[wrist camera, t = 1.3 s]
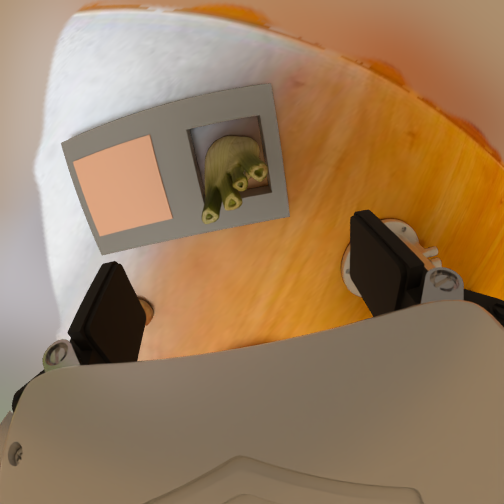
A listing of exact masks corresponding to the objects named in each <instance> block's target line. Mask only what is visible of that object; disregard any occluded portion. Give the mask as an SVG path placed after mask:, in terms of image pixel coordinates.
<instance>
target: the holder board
mask: <svg viewBox="0 0 504 504" xmlns="http://www.w3.org/2000/svg"><path fill="white" fill-rule="evenodd" d="M252 116H257V117H258V123H259V129H260V135H261V141H262V147H263V153H264V159H265V163H266V165H268V174H267V179H268V186H262V187H257V188H251V189H246V190H245V191H239V194H240V195H241V198H242V202H243V203H242V205H241V206H240V207H239V208H237V209H234V210H230V211H227V210H225V208H224V205H223V202H222V205H221V210H220V216H219V219H218V220H217V221H216V222H213V223H210V224H204V223H203V221H202V211H203V207H204V204H205V199H206V197H205V193H204V189H203V185H202V181H201V176H200V172H199V168H198V164H197V159H196V155H195V151H194V146H193V142H192V137H191V133H190V129H192V128H196V127H200V126H205V125H210V124H214V123H219V122H224V121H229V120H235V119H240V118H246V117H252ZM61 145H62V148H63V152H64V155H65V159H66V162H67V165H68V168H69V172H70V175H71V178H72V181H73V184H74V187H75V189H76V192H77V195H78V198H79V201H80V203H81V206H82V209H83V211H84V214H85V216H86V219H87V221H88V224H89V226H90V229H91V231H92V234H93V236H94V238H95V241H96V243H97V245H98V248H99V250H100V252H101V254H102V255H106V254H110V253H115V252H119V251H123V250H128V249H132V248H137V247H141V246H146V245H150V244H155V243H159V242H164V241H169V240H173V239H178V238H183V237H188V236H192V235H197V234H202V233H207V232H212V231H217V230H222V229H227V228H232V227H237V226H242V225H247V224H253V223H258V222H263V221H269V220H274V219H279V218H285V217H290V214H289V205H288V197H287V189H286V181H285V173H284V166H283V158H282V151H281V144H280V137H279V130H278V124H277V117H276V111H275V105H274V98H273V92H272V86H271V83H269V84H261V85H254V86H247V87H241V88H235V89H229V90H224V91H218V92H213V93H209V94H204V95H200V96H195V97H191V98H187V99H183V100H179V101H175V102H171V103H168V104H164V105H161V106H157V107H154V108H150V109H147V110H144V111H141V112H138V113H135V114H132V115H129V116H126V117H123V118H120V119H117V120H115V121H112V122H109V123H107V124H104V125H102V126H99V127H97V128H94V129H92V130H89V131H87V132H84V133H82V134H80V135H78V136H75V137H73V138H71V139H69V140H66V141H64V142H62V143H61Z"/></svg>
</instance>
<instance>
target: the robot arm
mask: <svg viewBox="0 0 504 504" xmlns="http://www.w3.org/2000/svg"><path fill="white" fill-rule="evenodd" d="M437 254H438V249H437V247H436V246H433V247H429V248H427V249H424V248H423V247H422V246H421V245H420V244H419V240H418V237H417V235H416V233H415V231H414V230H413V229H412V228H411V227H410V226H409V225H408V224H406V223H405V222H403V221H401V220H397V219H385V220H380V219H379V218H378V217H376V216H375V215H374V214H373V213H372V212H371V211H370V210H363V211H358V212H355V213H354V216H351V219H350V244H349V246H348V247H347V249H346V252H345V254H344V256H343V260H342V265H341V273H342V278H343V281H344V283H345V285H346V286H347V288H348V289H349V290H350V291H351V292H352V293H353V294H355V295H357V296H359V297H362V298H363V300H364V301H365V303H366V305H367V306H368V308H369V310H370V311H371V313H372V315H373V317H372V318H369V319H365V320H362V321H358V322H354V323H351V324H347V325H343V326H339V327H336V328H332V329H328V330H324V331H319V332H315V333H311V334H307V335H302V336H298V337H293V338H289V339H284V340H279V341H274V342H269V343H264V344H259V345H254V346H248V347H243V348H237V349H231V350H225V351H219V352H212V353H205V354H198V355H191V356H183V357H175V358H167V359H157V360H147V361H137V359H138V354H139V350H140V345H141V341H142V336H143V332H144V328H145V324H146V313H145V311H144V309H143V307H142V305H141V303H140V301H139V299H138V297H137V295H136V293H135V291H134V289H133V287H132V285H131V283H130V281H129V279H128V277H127V275H126V273H125V271H124V269H123V267H122V265H121V264H118V263H117V262H116V261H113V262H109V263H104V264H102V266H101V267H100V269H99V271H98V273H97V275H96V277H95V278H94V280H93V282H92V284H91V286H90V288H89V290H88V291H87V293H86V295H85V297H84V299H83V301H82V303H81V305H80V307H79V309H78V311H77V313H76V315H75V318H74V320H73V322H72V324H71V326H70V328H69V330H68V334H69V336H70V337H71V340H70V342H69V341H68V340H64V339H62V340H58V341H56V342H54V343H53V344H52V345H50V346H49V347H48V349H47V350H46V351H45V353H44V356H43V366H44V370H43V371H42V372H40V373H39V374H38V375H37V376H35V377H34V378H33V379H32V380H31V381H29V382H28V383H27V384H26V385H24V386H23V387H22V388H21V389H20V390H18V391H17V392H16V393H15V395H14V398H13V402H12V410H13V413H12V412H11V411H9V412H8V414H7V415H6V417H5V418H4V419H3V421H2V422H1V424H0V504H504V301H503V300H500V299H497V298H494V297H490V296H487V295H483V294H480V293H476V292H473V291H469V290H466V289H464V284H463V280H462V278H461V277H460V276H459V275H458V274H457V273H456V272H455V271H453V270H451V269H448V268H443V267H442V263H441V260H440V258H438V257H436V258H433V259H429V260H428V259H427V257H432V256H436V255H437Z"/></svg>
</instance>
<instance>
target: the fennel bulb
mask: <svg viewBox="0 0 504 504" xmlns="http://www.w3.org/2000/svg"><path fill="white" fill-rule="evenodd" d="M259 154H260V149H259V146H258V144H257V143H256V141H254V140H253V139H251V138H250V137H243V136H225V137H222V138H220V139H218V140H216V141H215V142H214V143H213V144H212V145H211V147H210V148H209V150H208V152H207V155H206V158H205V194H206V199H205V204H204V207H203V211H202V221H203V223H204V224H210V223H213V222H216V221H217V220H218V219H219V216H220V210H221V205H222V202H223V205H224V208H225V210H227V211H230V210H234V209H237V208H239V207H240V206H241V205H242V203H243V202H242V198H241V195H240V194H239V191H245V190H246V189H247V186H248V180H249V179H250V177H252V178H254V179H255V180H257V181H258V182H261V181H263V180H264V178H266V177H267V174H268V165H266V163H264V162H263V161H262V160H261V159H260V158H259ZM238 190H239V191H238Z"/></svg>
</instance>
